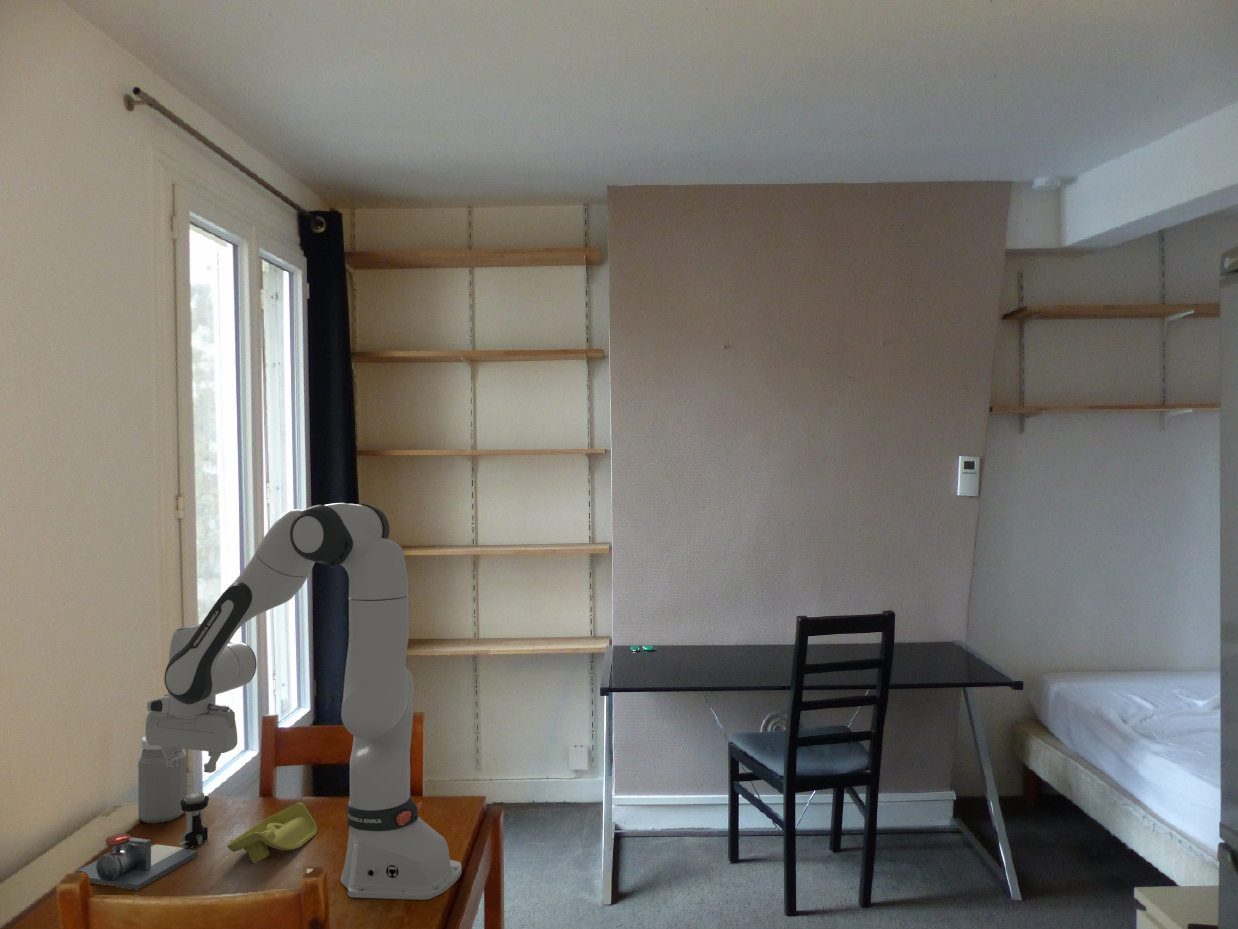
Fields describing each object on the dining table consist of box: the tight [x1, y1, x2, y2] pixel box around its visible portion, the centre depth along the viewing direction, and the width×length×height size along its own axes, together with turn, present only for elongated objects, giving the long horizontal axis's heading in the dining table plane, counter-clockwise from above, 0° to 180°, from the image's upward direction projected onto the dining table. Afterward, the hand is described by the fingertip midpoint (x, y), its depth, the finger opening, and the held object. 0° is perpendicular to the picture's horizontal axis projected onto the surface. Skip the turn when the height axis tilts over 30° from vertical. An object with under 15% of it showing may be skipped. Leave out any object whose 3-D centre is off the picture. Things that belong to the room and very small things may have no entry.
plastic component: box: [226, 802, 318, 864], centre depth 175 cm, size 20×7×10 cm
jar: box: [137, 736, 187, 824], centre depth 193 cm, size 10×10×18 cm
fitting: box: [96, 833, 152, 882], centre depth 163 cm, size 8×6×7 cm
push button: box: [178, 791, 210, 849], centre depth 178 cm, size 7×5×10 cm
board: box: [74, 844, 199, 890], centre depth 167 cm, size 16×15×1 cm
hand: (190, 769), depth 178 cm, fingers open, 8 cm apart
